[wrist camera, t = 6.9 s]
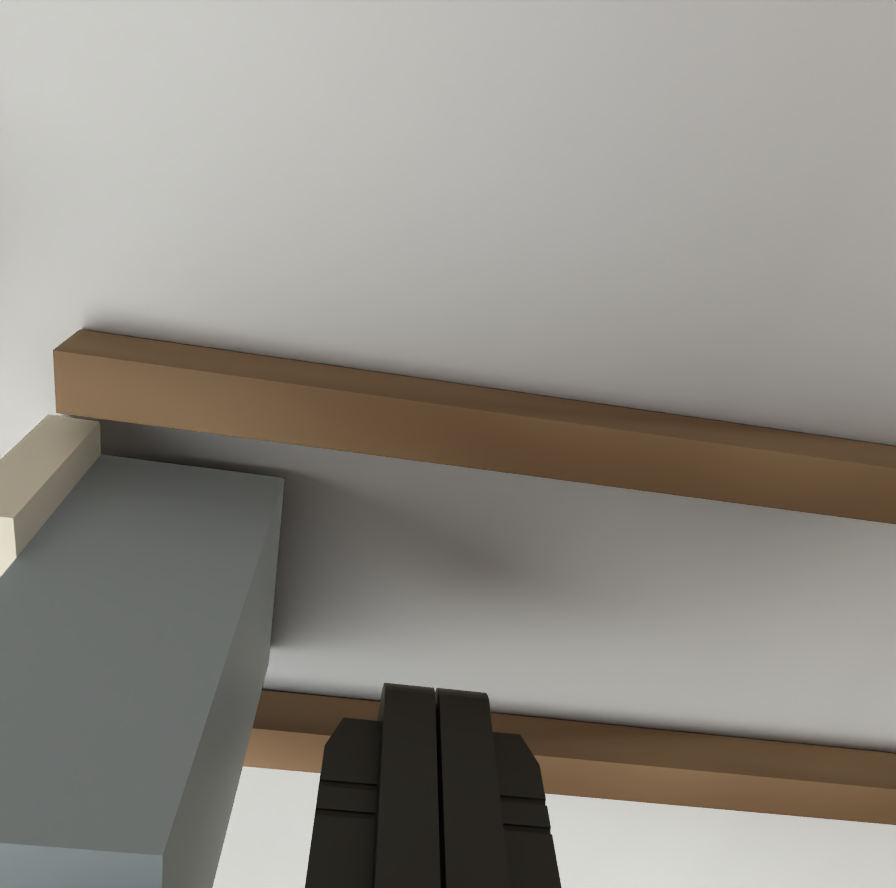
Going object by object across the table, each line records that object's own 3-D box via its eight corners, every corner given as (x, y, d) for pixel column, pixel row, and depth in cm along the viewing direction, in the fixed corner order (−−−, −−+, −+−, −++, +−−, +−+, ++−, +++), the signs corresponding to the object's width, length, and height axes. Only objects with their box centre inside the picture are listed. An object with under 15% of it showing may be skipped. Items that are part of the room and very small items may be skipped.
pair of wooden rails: (79, 329, 12) (52, 350, 11) (1114, 477, 14) (1162, 505, 13) (93, 711, 16) (73, 750, 15) (926, 790, 17) (954, 830, 17)
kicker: (47, 414, 13) (-325, 767, 6) (287, 446, 13) (163, 809, 7) (63, 665, 15) (-204, 1114, 8) (266, 686, 15) (158, 1128, 9)
